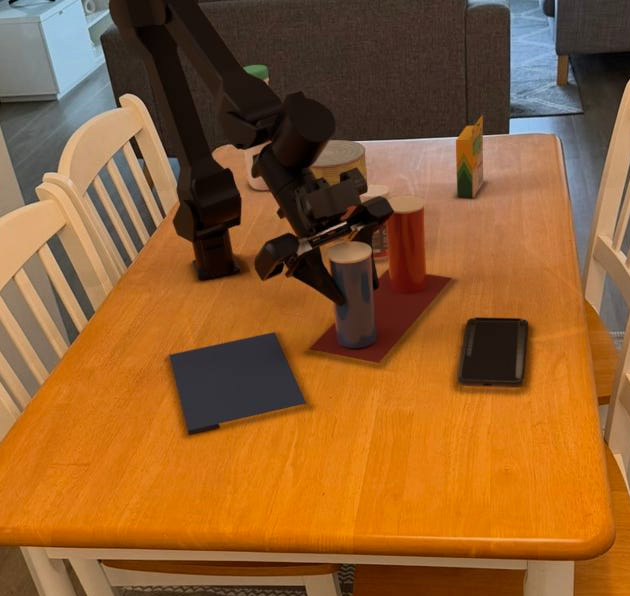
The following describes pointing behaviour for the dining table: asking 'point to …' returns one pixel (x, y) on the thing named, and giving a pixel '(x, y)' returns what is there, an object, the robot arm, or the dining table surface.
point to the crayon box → (470, 160)
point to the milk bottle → (259, 183)
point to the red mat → (386, 319)
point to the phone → (493, 352)
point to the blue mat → (234, 381)
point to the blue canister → (354, 294)
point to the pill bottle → (381, 236)
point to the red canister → (406, 245)
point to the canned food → (340, 163)
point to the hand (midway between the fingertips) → (360, 296)
